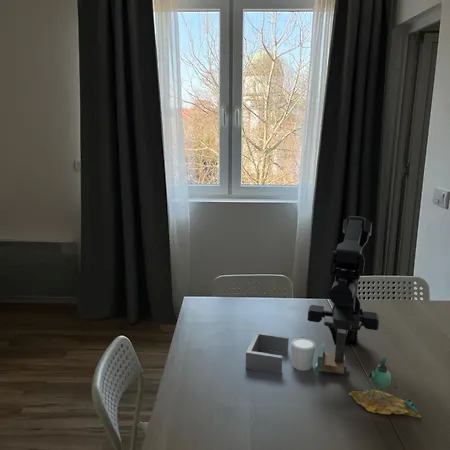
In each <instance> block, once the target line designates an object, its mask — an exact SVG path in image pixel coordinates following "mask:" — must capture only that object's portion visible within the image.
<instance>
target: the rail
mask: <svg viewBox="0 0 450 450" xmlns="http://www.w3.org/2000/svg"><path fill="white" fill-rule="evenodd" d="M317 364H318V361H317V362H316V363H315V370H316V371H317ZM343 375H348V376H349V367H348V366H344V374H343Z"/></svg>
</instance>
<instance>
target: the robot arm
mask: <svg viewBox="0 0 450 450" xmlns="http://www.w3.org/2000/svg"><path fill="white" fill-rule="evenodd" d="M342 224H343V225H342V226H343V227H342V233H343V234H344V239H343V242H339V243H338V244H337V246H336V250H333V252H332V259H331V266H330V271H329V276H331V277H334V281H333V284H332V286H331V288H330V291H329V293H328V295H329V299H330V302H331V303H332V309H331V311H330V310H324V309H325V306H323V305H316V304H311V305H309V307H308V308H309V309H308V310H307V321H308V322H311V323H320V322H321V321H322V320H324V321H323V325H324V326H325V327H328V329H329V331H330V334H331V337H332V341H333V344H334V346H336V339H337V329H343V330H346V339H345V348H346V347H347V346H348V345H349V346H353V347H354V346H355V347H357V346H358V331H360V330H361V327H364V329H366V330H372V331H377V330H379V325H380V318H379V314H378V313H377V312H372V311H366V310H365V311H364V309H363V308H362V302H361V299H360V297H359V295H358V291H359V282H360V279H361V276H363V275H364V271H365V270H364V268H365V262H366V261H365V260H366V259H365V257H364V254H363V253H362V252H363V248H364V247H365V246H366V244H367V243H368V241H369V237H370V236H372V229H373V228H372V226H373V225H372V224H373V222H371V221H370V220H368V219H366V217H363V216H357V215H356V216H355V215H350V216H347V218H345V219H343V223H342Z"/></svg>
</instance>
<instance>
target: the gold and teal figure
mask: <svg viewBox="0 0 450 450" xmlns="http://www.w3.org/2000/svg"><path fill="white" fill-rule="evenodd" d="M387 360H388V357H387V356H385V355H384V356H383V357H382V359H381V360H379V363H378V365H377V367H373V370H372V371H371V372H370V373H369V374H368V376H367V377H368V378H369V379H371V383H370V384H369V383H368V382H367V381H366V379H365V376H361V380H364V382H365V383H366V384H367V385H368V386H371V387H366V386H365V385H363V386H362V389H363V390H364V391H361V390H359V391H356V390H351V391H350V392H349V393H348V395H349V396H350V397H352V398H353V399H354V400H355V403H357V404H359V405H361V407H363V408H364V409H365V410H366V411H368V412H369V413H370V412H371V413H374V414H376V413H377V414H379V415H391V414H395V415H401V414H402V415H403V416H411V417H414V418H421V417H422V416H421V415H420V414H419V413H420V412H419V410H418V408H417V407H416V405H415V404H414V401H413V402H412V400H411V396H409V397H408V398H407V399H406V400H403V399H402V398H400V397H398V396H395V395H393V393H392V394H391V393H388V392H385V391H384V390H382V389H387V388H388V387H389V386H390V385H391V383H392V379H395V381H397V378H396V377H393V376H392V375H391V373H390V371H389V370H388V368H387V366H386V363H387ZM397 384H398V383H397V382H395V386H394V388H395V389H396V390H398V385H397ZM377 389H379V390H377Z"/></svg>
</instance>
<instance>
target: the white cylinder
mask: <svg viewBox="0 0 450 450" xmlns="http://www.w3.org/2000/svg"><path fill="white" fill-rule="evenodd" d="M290 344H291V345H290V346H291V348H290V349H291V365H292V367H293V368H294V369H296V370H298V371H310V370H311V369H312V367H313V362H314V356H315V351H316V343H315V342H314V341H313V340H312V339H308V338H305V337H304V338H302V337H301V338H300V337H298V338H293V339H292V340H291V342H290Z"/></svg>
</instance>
